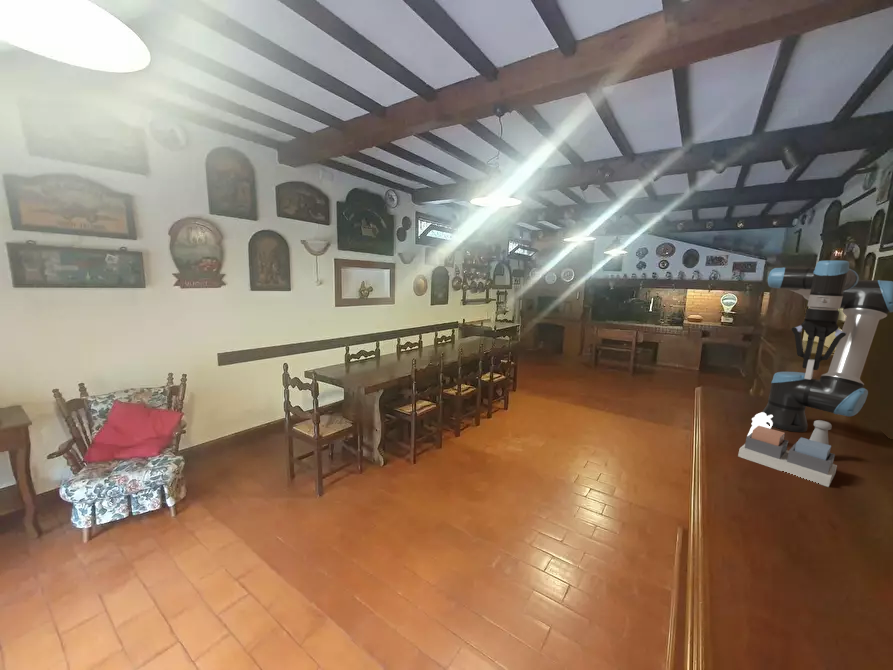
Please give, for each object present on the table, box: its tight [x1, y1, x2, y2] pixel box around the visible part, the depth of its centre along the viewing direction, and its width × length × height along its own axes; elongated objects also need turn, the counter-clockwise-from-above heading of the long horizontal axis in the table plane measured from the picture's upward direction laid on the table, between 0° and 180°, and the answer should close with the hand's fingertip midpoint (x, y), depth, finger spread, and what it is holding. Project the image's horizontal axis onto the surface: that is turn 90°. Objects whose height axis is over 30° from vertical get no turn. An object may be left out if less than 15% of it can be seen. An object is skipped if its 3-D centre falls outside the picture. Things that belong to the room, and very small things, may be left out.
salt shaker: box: [809, 419, 833, 445], centre depth 127 cm, size 6×6×13 cm
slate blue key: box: [795, 436, 832, 461], centre depth 116 cm, size 7×7×5 cm
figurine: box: [746, 411, 773, 437], centre depth 136 cm, size 7×7×12 cm
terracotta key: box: [751, 426, 786, 446], centre depth 124 cm, size 7×7×5 cm
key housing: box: [737, 433, 838, 488], centre depth 121 cm, size 13×22×7 cm, turn 37°
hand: (808, 378), depth 122 cm, fingers closed
